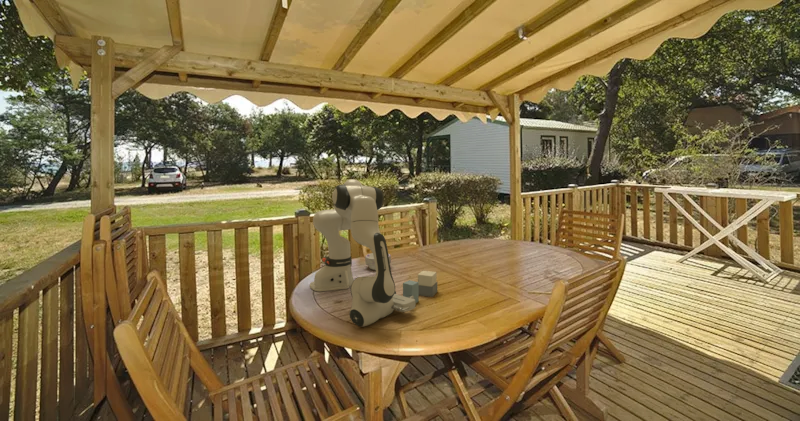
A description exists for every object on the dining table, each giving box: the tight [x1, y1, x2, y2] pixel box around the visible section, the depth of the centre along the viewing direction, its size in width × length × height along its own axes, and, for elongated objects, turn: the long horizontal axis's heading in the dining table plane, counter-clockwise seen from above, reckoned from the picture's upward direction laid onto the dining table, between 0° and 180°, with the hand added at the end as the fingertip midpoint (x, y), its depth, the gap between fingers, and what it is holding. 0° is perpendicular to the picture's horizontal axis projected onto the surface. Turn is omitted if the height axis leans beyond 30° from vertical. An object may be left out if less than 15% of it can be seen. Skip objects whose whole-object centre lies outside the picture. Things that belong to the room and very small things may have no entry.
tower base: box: [419, 281, 438, 298], centre depth 174 cm, size 8×8×5 cm
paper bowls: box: [364, 252, 392, 271], centre depth 216 cm, size 15×15×8 cm
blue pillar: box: [402, 279, 420, 304], centre depth 162 cm, size 5×5×9 cm
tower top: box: [417, 270, 437, 287], centre depth 173 cm, size 7×7×5 cm
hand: (403, 294), depth 158 cm, fingers open, 8 cm apart
